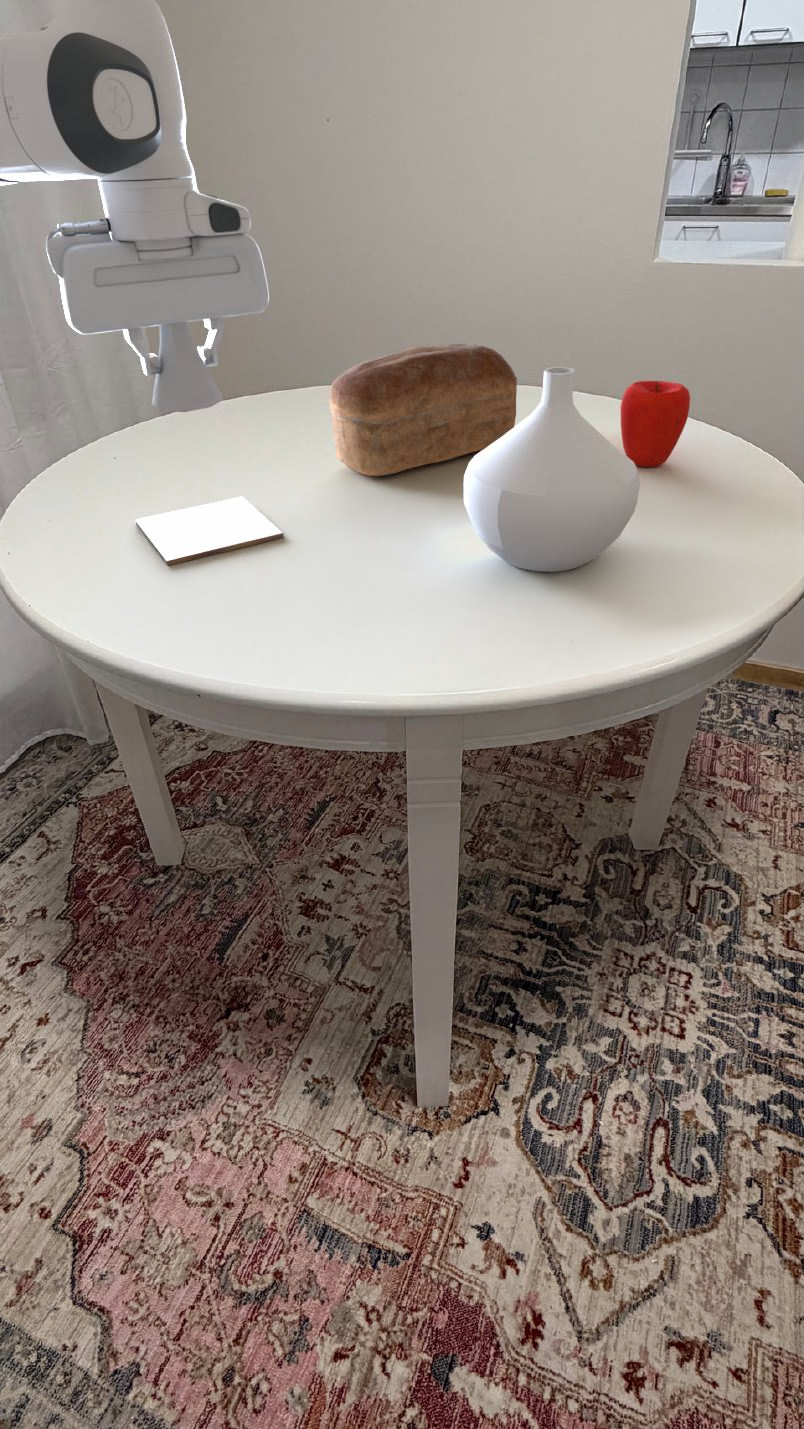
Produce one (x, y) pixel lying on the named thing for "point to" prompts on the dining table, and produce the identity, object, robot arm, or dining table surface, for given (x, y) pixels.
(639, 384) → the apple
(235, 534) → the coaster
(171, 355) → the flask
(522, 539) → the vase
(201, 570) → the dining table surface
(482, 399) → the bread
